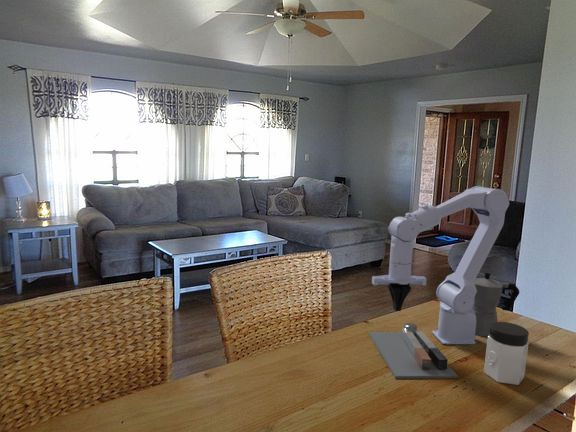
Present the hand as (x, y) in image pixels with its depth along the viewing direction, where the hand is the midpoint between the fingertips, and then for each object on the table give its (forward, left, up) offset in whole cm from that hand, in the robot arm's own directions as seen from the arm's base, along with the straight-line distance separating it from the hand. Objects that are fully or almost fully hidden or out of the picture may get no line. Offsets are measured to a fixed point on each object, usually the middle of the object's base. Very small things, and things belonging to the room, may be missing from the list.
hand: (396, 309), depth 118 cm
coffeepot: (-30, -7, -10) cm, 32 cm away
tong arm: (-4, +6, -8) cm, 11 cm away
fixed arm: (-6, +9, -8) cm, 14 cm away
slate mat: (-1, +7, -9) cm, 12 cm away
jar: (-21, +18, -10) cm, 29 cm away
